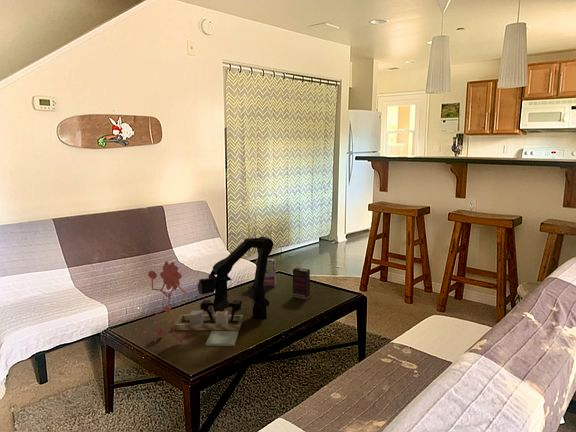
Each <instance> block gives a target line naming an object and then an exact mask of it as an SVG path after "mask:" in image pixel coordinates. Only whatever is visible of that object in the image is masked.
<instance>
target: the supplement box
mask: <svg viewBox="0 0 576 432" xmlns="http://www.w3.org/2000/svg"><path fill="white" fill-rule="evenodd" d="M310 284H311V269H307V268H302V267H298V266H297V267H295V268H293V269H292V297H293V298H298V299H303V300H307V299H309V298H311V288H310V287H311V285H310Z"/></svg>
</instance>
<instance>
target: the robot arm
mask: <svg viewBox="0 0 576 432" xmlns="http://www.w3.org/2000/svg"><path fill="white" fill-rule="evenodd" d="M253 248H255V249H256V250H257V259H258V260H257V259H256V260H257V266H256V265H255V272H254V278H253V280H254V281H253V284H252V285H249V286H248V292H247V293H246V294H247V295H248V298H249V299H250V300H251V302H252V303H253V306H252V317H253V319H267V318H268V307H269V306H270V301H269V299H267V298H266V291H265V287H264V286H263V284H264V278H265V272H266V266H267V259H269V256H270V255H271V253H272V251H273V248H274V241H273V239H271V238H269V237H267V236H263V235H262V236H260V237H250V238H249V237H246V238H245V239H244V240H243V242H241V243H240V245H238V246H237V247H236V248H235V249H234V250H232V251H231V253H229V255H228V256H226V257H225V258H223V259H221V260H218V261H217V262H216V263H215V264H214V265H213V266H212V270H211V272H210V273H209V275H208V276H207V278H199V279H198V281H199V282H198V283H197V291H198V293H199V295H205V294H211V293H214V299H213V302H212V300H211V299H203V300H202V301H201V303H200V308H199V310H200V311H203V312H206V313H207V315H209V317H210V319H211V324H214V321H213V315H214V312H216V313H217V311H220V312H223V311H225V310H226V309H229V308H231V310H230V311H231V314H230V315H231V321H230V323H231V324H233V322H234V321H233V317H234V315H236V313H237V312H239V311H241V310H242V308H243V301H242V300H241V299H239V300H238V299H237V300H235V299H234V300H233V301H232V302H229V299H228V298H229V297H228V282H229V281H232V278H231V277H230V276H229V273H230V272H231V271H232V269H233V267H234V265H235V264H236V263H237V262H239V260H241V258H242V257H244V255H246V254H247V253H248V252H249V251H250V250H251V249H253Z"/></svg>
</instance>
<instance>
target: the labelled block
mask: <svg viewBox="0 0 576 432" xmlns="http://www.w3.org/2000/svg"><path fill="white" fill-rule="evenodd" d="M214 315H215V320H216V321H215V324H229V321H228V315H229V311H228V310H224V311H223V312H220V311H216V313H215V314H214Z"/></svg>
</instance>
